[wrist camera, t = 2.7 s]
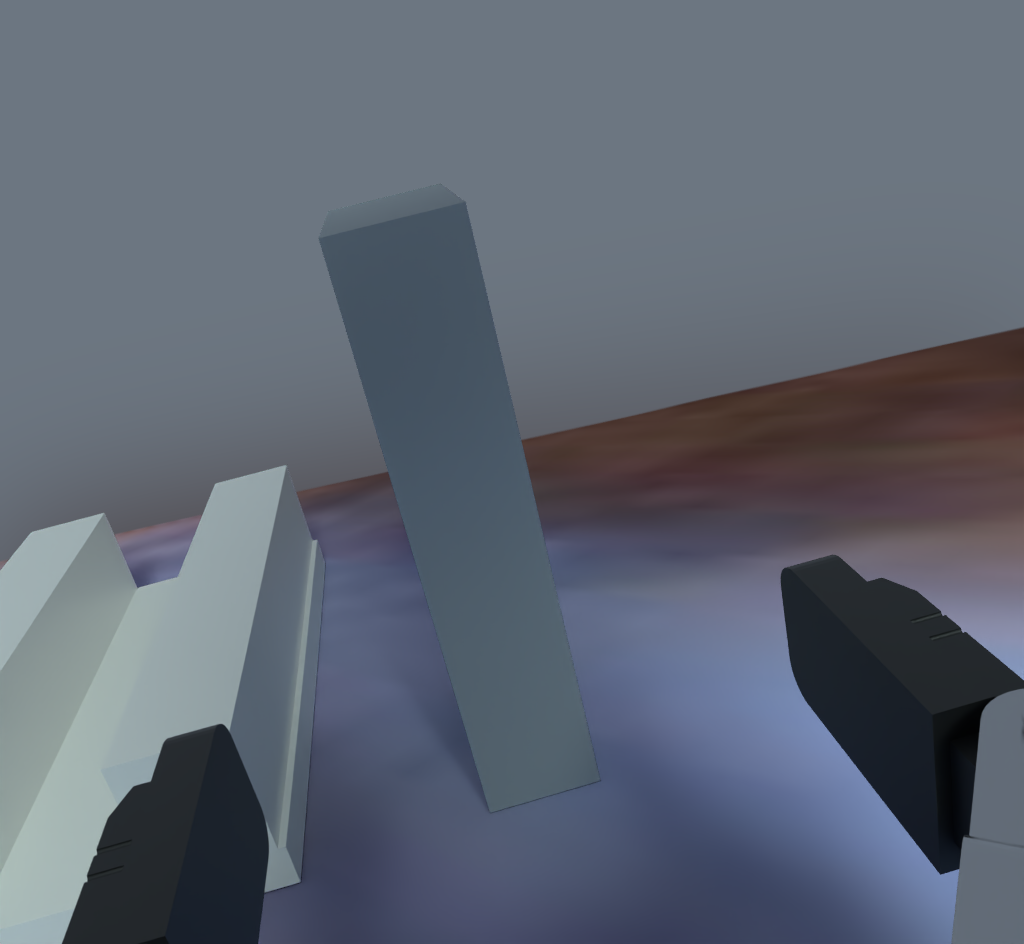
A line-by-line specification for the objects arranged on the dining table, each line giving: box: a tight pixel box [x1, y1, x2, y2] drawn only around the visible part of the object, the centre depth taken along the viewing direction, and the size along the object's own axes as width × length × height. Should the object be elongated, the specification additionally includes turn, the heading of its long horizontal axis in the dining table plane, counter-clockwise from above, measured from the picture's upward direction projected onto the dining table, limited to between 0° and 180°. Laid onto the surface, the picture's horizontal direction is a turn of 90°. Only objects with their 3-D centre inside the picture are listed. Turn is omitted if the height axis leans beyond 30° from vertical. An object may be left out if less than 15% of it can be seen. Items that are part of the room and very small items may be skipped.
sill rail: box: [0, 465, 326, 944], centre depth 30 cm, size 11×18×5 cm, turn 9°
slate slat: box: [319, 184, 601, 813], centre depth 24 cm, size 3×6×15 cm, turn 9°
